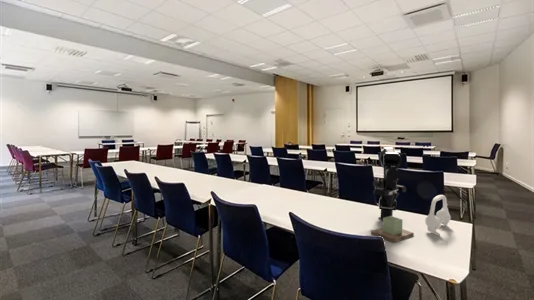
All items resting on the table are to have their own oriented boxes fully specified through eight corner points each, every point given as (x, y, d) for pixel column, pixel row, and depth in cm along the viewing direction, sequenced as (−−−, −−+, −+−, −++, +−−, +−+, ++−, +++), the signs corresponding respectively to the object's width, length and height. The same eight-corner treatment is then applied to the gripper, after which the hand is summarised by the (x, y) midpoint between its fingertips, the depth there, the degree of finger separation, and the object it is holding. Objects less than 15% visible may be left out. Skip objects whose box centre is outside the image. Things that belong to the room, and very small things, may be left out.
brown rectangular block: (391, 228, 139) (391, 215, 139) (413, 235, 129) (414, 222, 128) (370, 233, 131) (371, 220, 131) (392, 242, 121) (393, 228, 120)
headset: (437, 223, 147) (439, 191, 145) (452, 226, 141) (454, 193, 140) (423, 231, 134) (424, 197, 133) (439, 236, 129) (440, 200, 127)
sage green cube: (390, 228, 134) (390, 215, 133) (402, 232, 129) (402, 219, 128) (382, 230, 131) (383, 217, 130) (394, 235, 125) (394, 221, 125)
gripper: (388, 172, 147) (387, 200, 149) (365, 176, 138) (364, 205, 139) (407, 176, 138) (406, 205, 139) (384, 179, 128) (383, 211, 130)
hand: (389, 206), depth 137 cm, fingers closed
